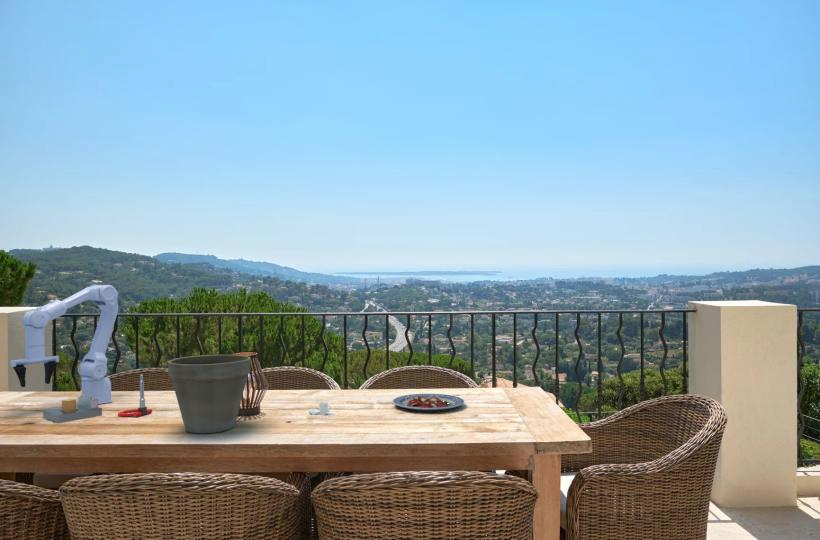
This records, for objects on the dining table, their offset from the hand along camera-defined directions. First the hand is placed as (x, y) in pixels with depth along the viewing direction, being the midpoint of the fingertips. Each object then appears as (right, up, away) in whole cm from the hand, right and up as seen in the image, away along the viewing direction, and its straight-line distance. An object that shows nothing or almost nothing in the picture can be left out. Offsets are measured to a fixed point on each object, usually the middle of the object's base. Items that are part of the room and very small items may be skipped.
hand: (35, 385), depth 215 cm
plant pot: (+67, -10, -20) cm, 70 cm away
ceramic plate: (+135, -10, +10) cm, 136 cm away
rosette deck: (+15, -10, -4) cm, 18 cm away
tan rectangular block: (+15, -10, -6) cm, 19 cm away
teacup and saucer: (+99, -10, +1) cm, 99 cm away
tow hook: (+34, -10, -1) cm, 36 cm away
